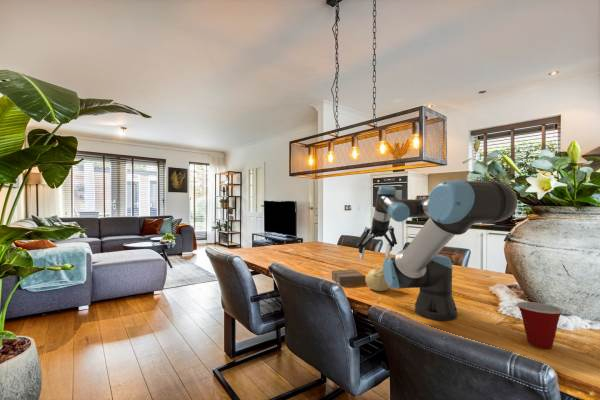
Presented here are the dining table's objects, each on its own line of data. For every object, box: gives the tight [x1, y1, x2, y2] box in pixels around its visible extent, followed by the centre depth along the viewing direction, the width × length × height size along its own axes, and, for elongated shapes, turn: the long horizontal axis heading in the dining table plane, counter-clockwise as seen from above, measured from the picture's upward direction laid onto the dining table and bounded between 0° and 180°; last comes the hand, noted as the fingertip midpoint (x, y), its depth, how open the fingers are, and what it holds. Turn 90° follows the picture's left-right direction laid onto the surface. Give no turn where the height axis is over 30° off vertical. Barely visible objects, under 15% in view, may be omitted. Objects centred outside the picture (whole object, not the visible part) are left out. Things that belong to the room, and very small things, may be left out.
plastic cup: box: [516, 301, 563, 350], centre depth 87 cm, size 11×11×12 cm
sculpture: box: [365, 267, 390, 292], centre depth 142 cm, size 12×12×11 cm
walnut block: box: [331, 269, 366, 287], centre depth 155 cm, size 14×14×5 cm
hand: (374, 257), depth 138 cm, fingers open, 13 cm apart
